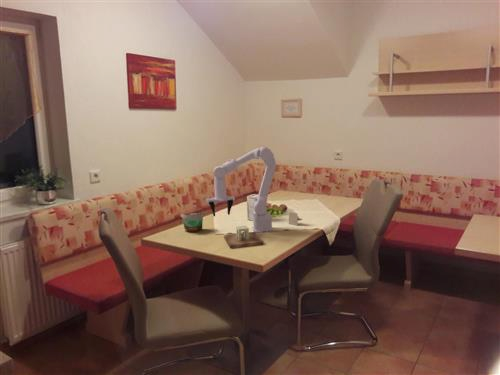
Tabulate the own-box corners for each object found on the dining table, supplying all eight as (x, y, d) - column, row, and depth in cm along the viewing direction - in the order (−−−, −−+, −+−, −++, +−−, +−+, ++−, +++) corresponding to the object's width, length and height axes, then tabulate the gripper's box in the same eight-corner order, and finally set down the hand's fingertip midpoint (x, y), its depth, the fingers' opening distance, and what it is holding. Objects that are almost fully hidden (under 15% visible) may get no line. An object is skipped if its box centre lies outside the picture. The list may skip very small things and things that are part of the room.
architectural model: (292, 223, 232) (291, 210, 231) (302, 225, 228) (302, 212, 227) (288, 225, 230) (288, 211, 228) (299, 226, 225) (299, 213, 224)
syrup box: (253, 217, 245) (252, 193, 242) (261, 219, 241) (260, 194, 238) (247, 220, 241) (246, 195, 238) (255, 221, 237) (254, 196, 234)
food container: (183, 234, 219) (182, 216, 217) (182, 231, 224) (180, 213, 222) (206, 231, 222) (205, 213, 220) (204, 228, 228) (203, 210, 226)
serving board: (254, 234, 214) (254, 231, 213) (263, 244, 198) (263, 241, 198) (224, 238, 210) (223, 235, 210) (230, 248, 195) (230, 245, 194)
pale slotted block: (246, 236, 207) (246, 225, 206) (249, 239, 202) (248, 228, 201) (236, 237, 206) (236, 226, 205) (239, 240, 201) (238, 229, 200)
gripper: (207, 192, 210) (208, 218, 212) (235, 189, 213) (236, 215, 216) (205, 189, 216) (206, 215, 219) (232, 187, 220) (233, 212, 222)
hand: (221, 215), depth 218 cm, fingers open, 7 cm apart
